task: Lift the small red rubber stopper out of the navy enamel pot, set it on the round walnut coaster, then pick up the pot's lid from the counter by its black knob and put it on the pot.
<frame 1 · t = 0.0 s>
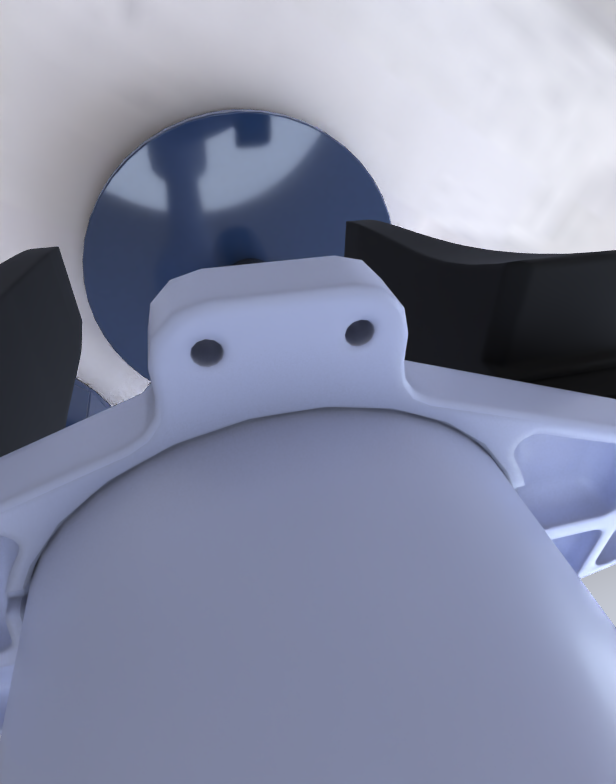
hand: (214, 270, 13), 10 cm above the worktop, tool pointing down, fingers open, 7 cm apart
lid: (248, 279, 24), point 1 cm above the worktop
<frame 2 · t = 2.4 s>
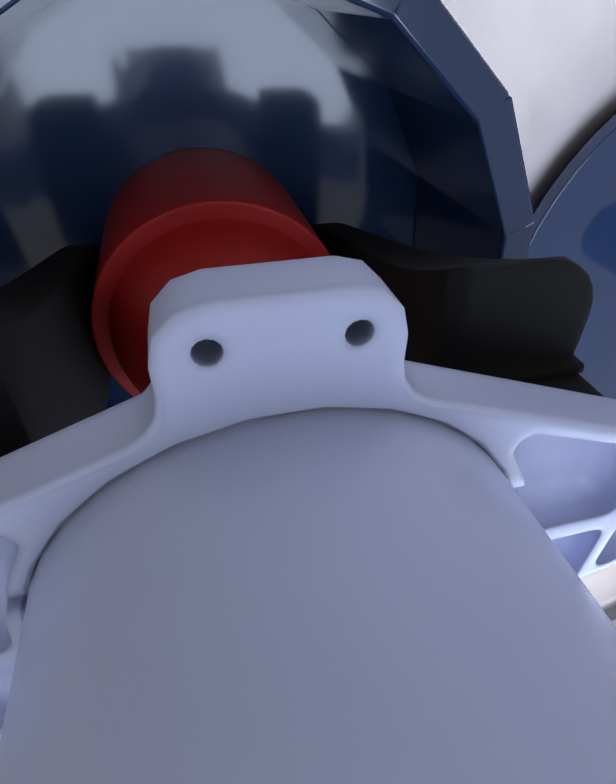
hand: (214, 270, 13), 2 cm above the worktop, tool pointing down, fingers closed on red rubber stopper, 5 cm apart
red rubber stopper: (208, 254, 14), point 1 cm above the worktop, touching gripper, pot
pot: (208, 246, 14), on the worktop
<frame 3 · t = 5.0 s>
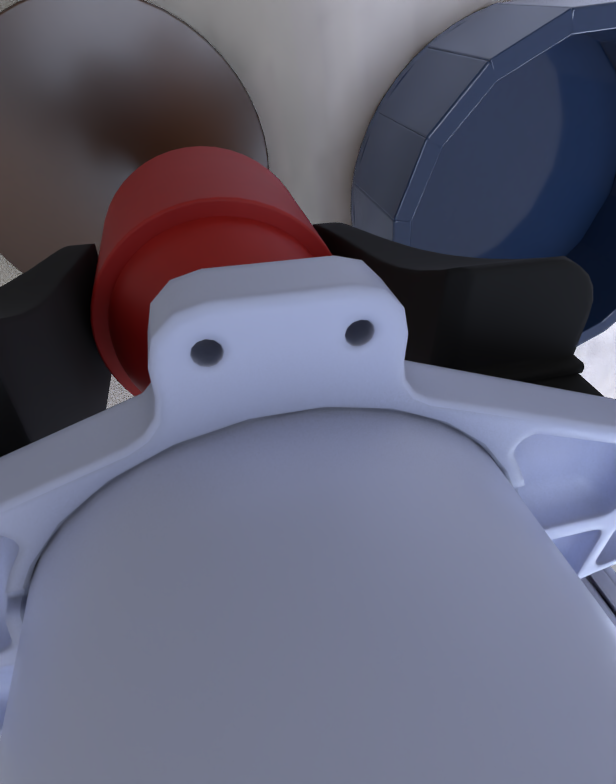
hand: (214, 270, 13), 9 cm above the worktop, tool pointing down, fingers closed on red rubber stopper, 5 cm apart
red rubber stopper: (208, 252, 14), point 8 cm above the worktop, touching gripper
coaster: (122, 175, 19), on the worktop
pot: (491, 185, 23), on the worktop
when the fingers open (2 cm above the worktop, at t = 7.8 s): red rubber stopper stays where it is, resting on coaster.
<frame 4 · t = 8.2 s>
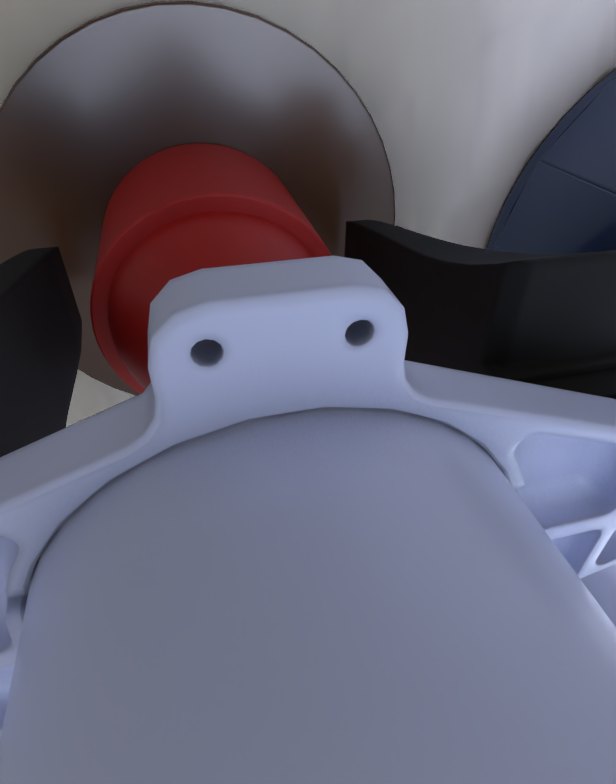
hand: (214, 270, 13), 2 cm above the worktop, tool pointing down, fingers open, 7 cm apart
red rubber stopper: (207, 248, 14), resting on coaster
coaster: (207, 243, 15), on the worktop
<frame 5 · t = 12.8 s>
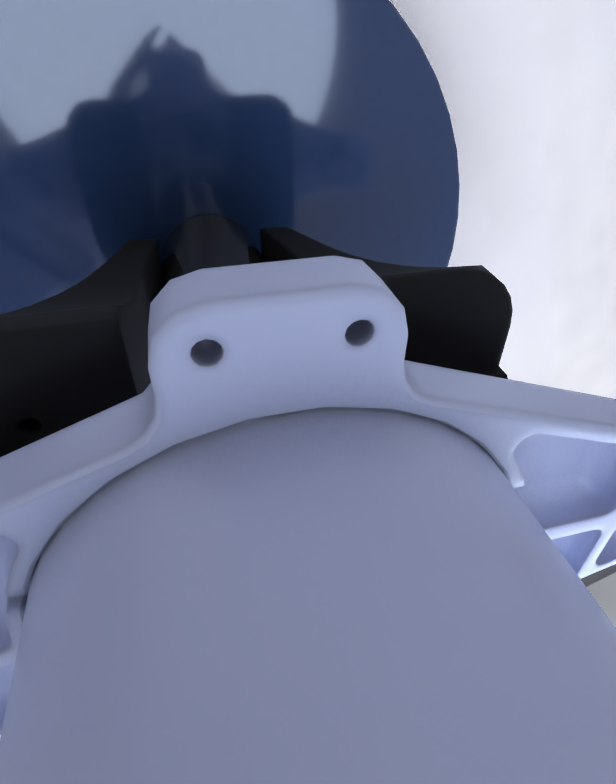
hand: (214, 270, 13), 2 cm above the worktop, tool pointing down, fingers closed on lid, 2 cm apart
lid: (209, 255, 14), point 1 cm above the worktop, touching gripper
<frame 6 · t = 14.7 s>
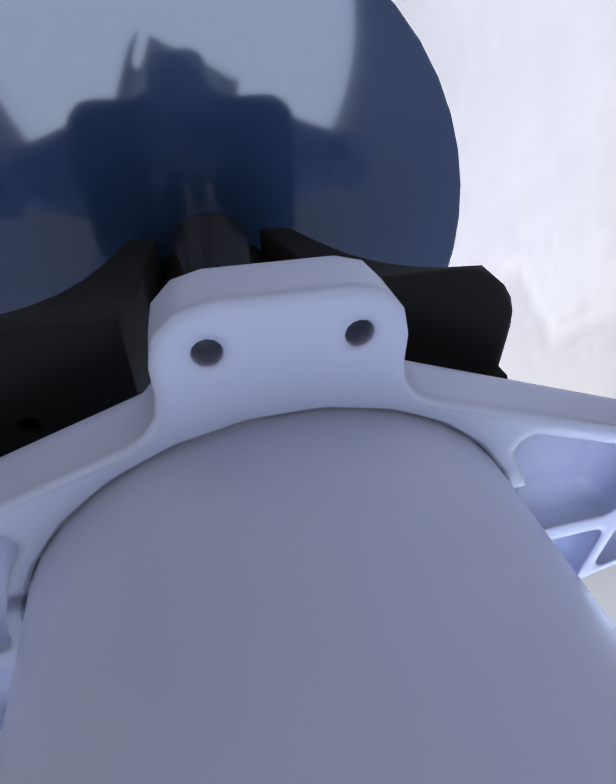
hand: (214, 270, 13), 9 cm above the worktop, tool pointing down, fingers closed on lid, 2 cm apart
lid: (210, 254, 14), point 8 cm above the worktop, touching gripper
when the fingers open (6 cm above the worktop, at t = 16.6 s): lid stays where it is, resting on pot.
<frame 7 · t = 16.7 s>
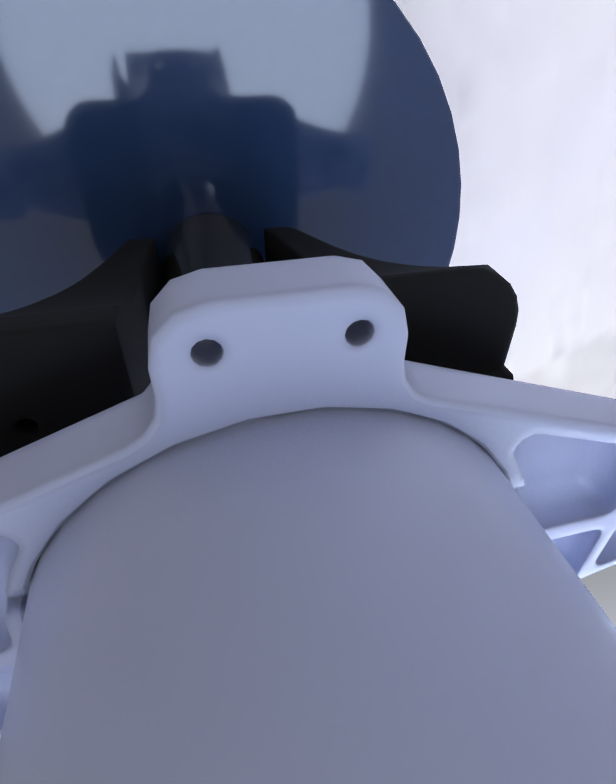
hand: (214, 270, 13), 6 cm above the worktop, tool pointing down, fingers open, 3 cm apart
lid: (209, 254, 14), point 5 cm above the worktop, touching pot
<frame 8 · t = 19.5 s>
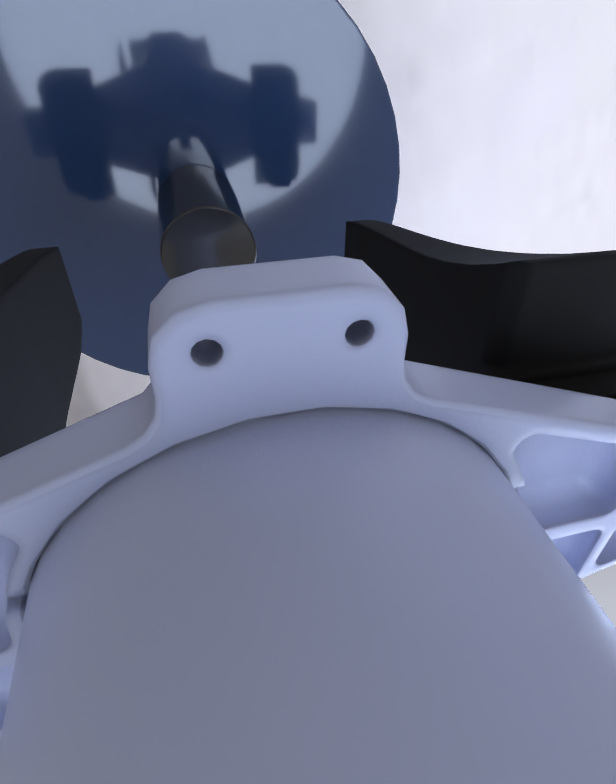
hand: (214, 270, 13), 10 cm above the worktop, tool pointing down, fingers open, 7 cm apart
lid: (197, 201, 17), point 5 cm above the worktop, touching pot
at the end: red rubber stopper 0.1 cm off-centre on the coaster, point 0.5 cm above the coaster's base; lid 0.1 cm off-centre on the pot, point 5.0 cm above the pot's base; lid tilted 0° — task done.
